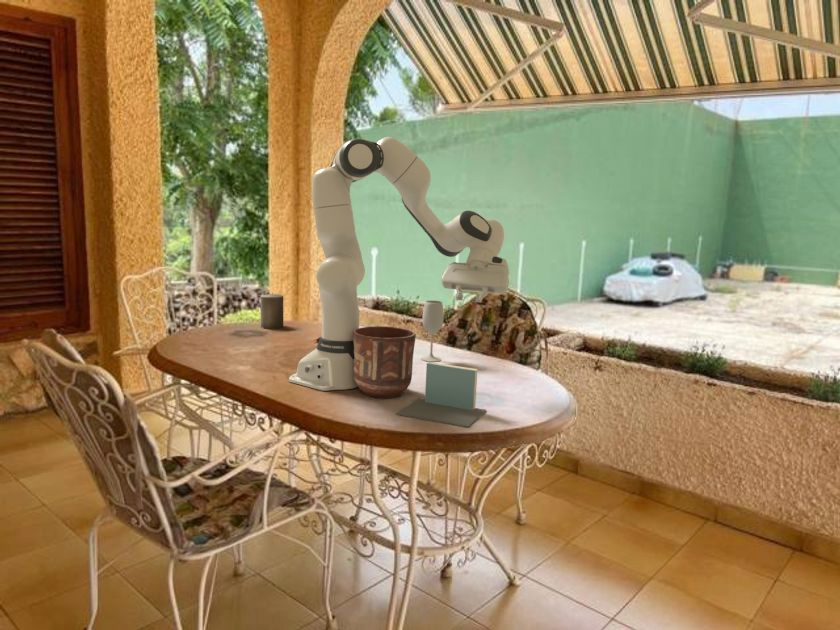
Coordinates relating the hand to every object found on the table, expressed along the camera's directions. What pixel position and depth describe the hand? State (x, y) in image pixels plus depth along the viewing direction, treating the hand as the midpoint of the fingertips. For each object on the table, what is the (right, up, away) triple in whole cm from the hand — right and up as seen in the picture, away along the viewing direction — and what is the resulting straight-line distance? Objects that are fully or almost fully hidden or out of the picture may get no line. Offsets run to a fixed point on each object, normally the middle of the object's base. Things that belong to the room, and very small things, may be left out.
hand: (468, 300), depth 182 cm
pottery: (-25, -27, -1) cm, 37 cm away
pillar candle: (-78, -10, +87) cm, 117 cm away
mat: (-8, -30, -17) cm, 36 cm away
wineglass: (-10, -20, +41) cm, 47 cm away
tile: (-6, -29, -12) cm, 32 cm away
